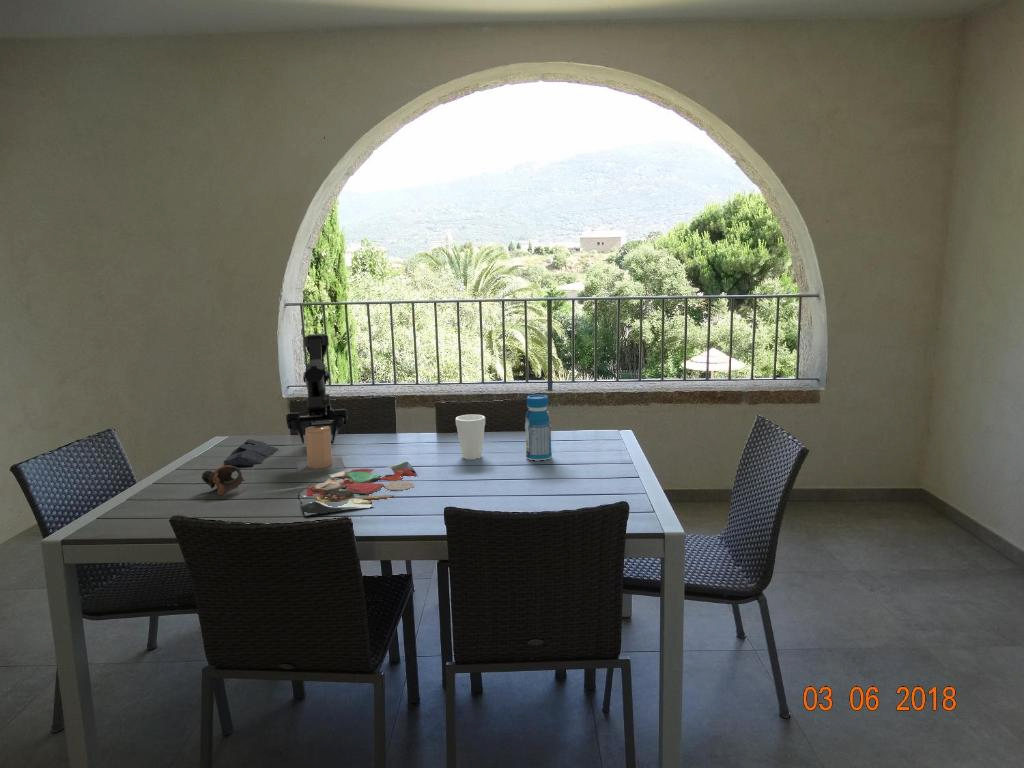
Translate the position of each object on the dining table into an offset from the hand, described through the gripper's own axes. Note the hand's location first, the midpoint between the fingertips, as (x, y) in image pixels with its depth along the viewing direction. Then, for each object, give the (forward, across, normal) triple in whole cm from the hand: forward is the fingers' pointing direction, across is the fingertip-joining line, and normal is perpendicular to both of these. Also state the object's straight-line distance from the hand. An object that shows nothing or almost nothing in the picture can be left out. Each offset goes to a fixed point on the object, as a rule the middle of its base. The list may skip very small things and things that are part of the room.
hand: (318, 441), depth 230 cm
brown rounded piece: (+17, -26, -4) cm, 32 cm away
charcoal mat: (+5, 0, +7) cm, 9 cm away
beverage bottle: (+14, +68, -2) cm, 70 cm away
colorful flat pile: (+25, +12, -12) cm, 31 cm away
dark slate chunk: (-8, -24, +21) cm, 33 cm away
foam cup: (+8, +48, +4) cm, 49 cm away
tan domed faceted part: (+5, 0, +7) cm, 8 cm away
